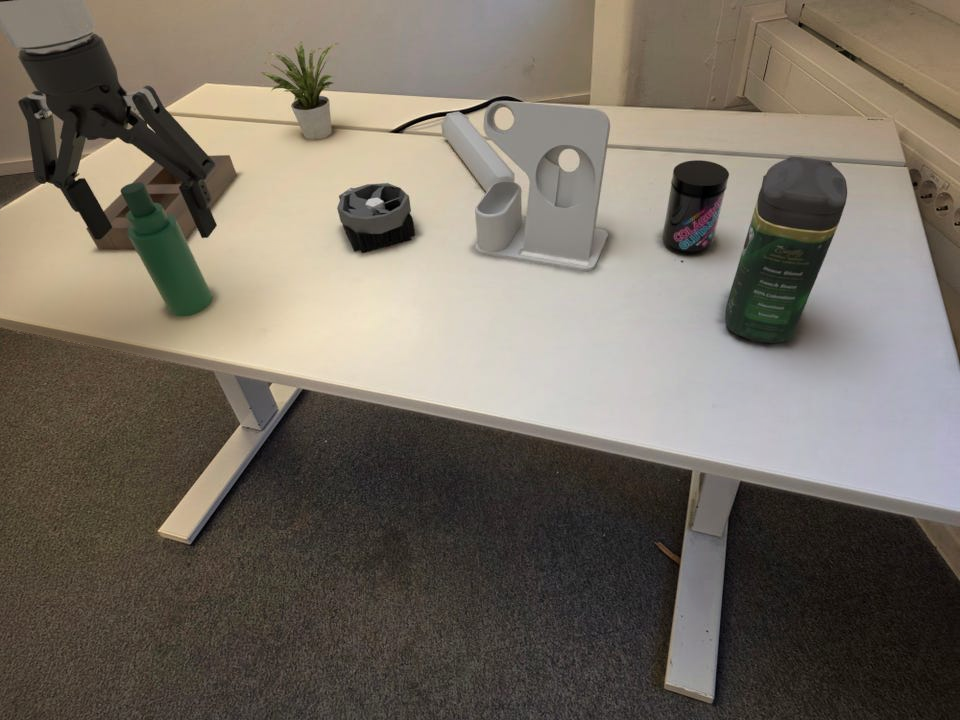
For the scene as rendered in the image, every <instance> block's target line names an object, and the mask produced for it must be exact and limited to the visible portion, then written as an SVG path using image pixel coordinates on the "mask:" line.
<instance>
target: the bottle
mask: <svg viewBox="0 0 960 720" xmlns="http://www.w3.org/2000/svg"><path fill="white" fill-rule="evenodd" d="M121 194H122V196H123V197H124V199H125V201H126V203H127V205H128V207H129V209H130V211H129V212H128V213H127V215H126V217H127V219H128V221H129V223H130V225H131V226H130V227H129V229H128V231H127V234H128V236H129V238H130V240H131V242H132V244H133V245H134V247H135V249H136V250H135V251H136V253H137V255H138V256H139V258H140V260H141V262H142V264H143V266H144V267H145V270H146V271H147V273H148V275H149V277H150V279H151V281H152V282H153V284H154V286H155V288H156V289H157V291H158V293H159V295H160V296H161V299H162V300H163V302H164V304H165V306H166V308H167V310H168V311H169V313H170V314H171V315H173V316H176V317H189V316H192V315H196V314H198V313H200V312H202V311H204V310H205V309H207V308H208V307H209V306H210V305H211V303H212V301H213V294H212V292H211V290H210V288H209V286H208V284H207V282H206V279H205V277H204V275H203V273H202V271H201V269H200V267H199V265H198V263H197V261H196V258H195V256H194V255H193V252H192V250H191V248H190V245H189V244H188V242H187V241H188V240H186V239H185V237H184V235H183V233H182V231H181V229H180V226H179V224H178V222H177V220H176V218H175V217H174V216H172V215H169V214H166V213H165V211H164V209H163V207H162V205H160V204H158V203H153V201H152V199H151V197H150V195H149V193H148V191H147V189H146V187H145V185H144V184H143V183H139V182H137V183H133V182H132V183H128V184H126V185H124V186H122V187H121V189H120V195H121Z"/></svg>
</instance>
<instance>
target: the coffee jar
mask: <svg viewBox="0 0 960 720" xmlns="http://www.w3.org/2000/svg"><path fill="white" fill-rule="evenodd" d="M847 185H848V184H847V180H846V178H845V176H844V175H843V173H842V172H841V171H840V170H839V169H838V168H837V167H835V165H833V163H832V162H831V161H830V160H823V159H817V158H809V157H803V156H802V157H800V156H788V157H787V158H786V159H783V160H781V161H779V162H777V163H774V164H773V165H771V167H769V168H768V170H767V171H766V173H765V174H764V175H763V177H762V182H761V186H760V190H759V192H758V195H757V199H756V203H755V206H754V210H753V213H752V216H751V220H750V223H749V227H748V230H747V234H746V237H745V240H744V244H743V247H742V251H741V254H740V258H739V261H738V265H737V269H736V272H735V275H734V278H733V282H732V285H731V288H730V292H729V295H728V299H727V302H726V306H725V311H724V316H725V317H724V320H725V321H724V322H725V324H726V327H727V328H728V329H729V331H731V332H732V333H734V334H735V335H738V336H740V337H743V338H744V339H747V340H750V341H753V342H758V343H767V344H769V343H770V344H771V343H772V344H775V343H776V344H777V343H783V342H786V341H788V340H790V339H791V338H792V337H793V336H794V334H795V331H796V329H797V327H798V325H799V322H800V320H801V318H802V314H803V313H804V310H805V307H806V304H807V302H808V300H809V297H810V295H811V293H812V290H813V287H814V286H815V283H816V281H817V278H818V275H819V274H820V271H821V269H822V266H823V263H824V261H825V259H826V256H827V254H828V251H829V249H830V247H831V244H832V241H833V239H834V237H835V233H836V231H837V229H838V226H839V224H840V221H841V219H842V216H843V212H844V209H845V207H846V205H847V204H846V203H847V199H848V186H847Z"/></svg>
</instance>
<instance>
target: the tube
mask: <svg viewBox="0 0 960 720" xmlns="http://www.w3.org/2000/svg"><path fill="white" fill-rule="evenodd" d="M440 126H441V135H442V137H443V138H444V139H446V140H447V142H448V143H449V145H450V146H451V147H452V148H453V150H454V151H455V153H456V154H457V155H458V156H459V158H460V159H461V160H462V162H463V163H464V164H465V165H466V167H467V169H468V170H469V171H470V173H471V174H472V175H473V176H474V178H475V179H476V180H477V182H478V183H479V184H480V186H481V187H482V189H483V190H484V191H485V193H486V192H487V191H488V190H489V188H490V187H491V186H492V185H493V184H495V183H498V182H502V181H510V182H514V183H516V181H515V180H516V179H515V172H514V171H513V170H512V169H511V168H510V166H509V165H508V163H506V162H505V161H504V159H503V158H502V157H501V155H499V154H498V152H497V151H496V150H495V148H494V147H493V146H491V144H490V143H489V142H488V140H486V138H485V137H484V136H483V134H482V133H480V131H479V130H478V129H477V128H476V127H475V126H474V124H473V123H472V121H470V118H469V116H467V115H465V114H463V113H462V112H460V111H454V112H448V113H446V115H445V117H444V119H443V120H442V123H441V124H440Z"/></svg>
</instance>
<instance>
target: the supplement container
mask: <svg viewBox="0 0 960 720" xmlns="http://www.w3.org/2000/svg"><path fill="white" fill-rule="evenodd" d="M729 177H730V173H729V170H728V169H727V168H725V166H723V165H721V164H719V163H717V162H714V161H709V160H699V159H698V160H696V159H694V160H693V159H692V160H685V161H683V162H680V163H679V164H677V165H676V166H674V168H673V171H672V176H671V181H670V190H669V196H668V202H667V207H666V212H665V213H666V214H665V219H664V223H663V230H662V236H661V237H662V241H663V244H664V245H665V247H666V248H667V249H669V250H670V251H672V252H674V253H676V254H679V255H686V256H695V255H699V254H702V253H705V252H707V251H708V250H709V249H710V248H711V246H712V245H713V243H714V239H715V234H716V230H717V226H718V223H719V218H720V214H721V210H722V206H723V201H724V197H725V193H726V191H727V190H726V189H727V186H728V181H729Z"/></svg>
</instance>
